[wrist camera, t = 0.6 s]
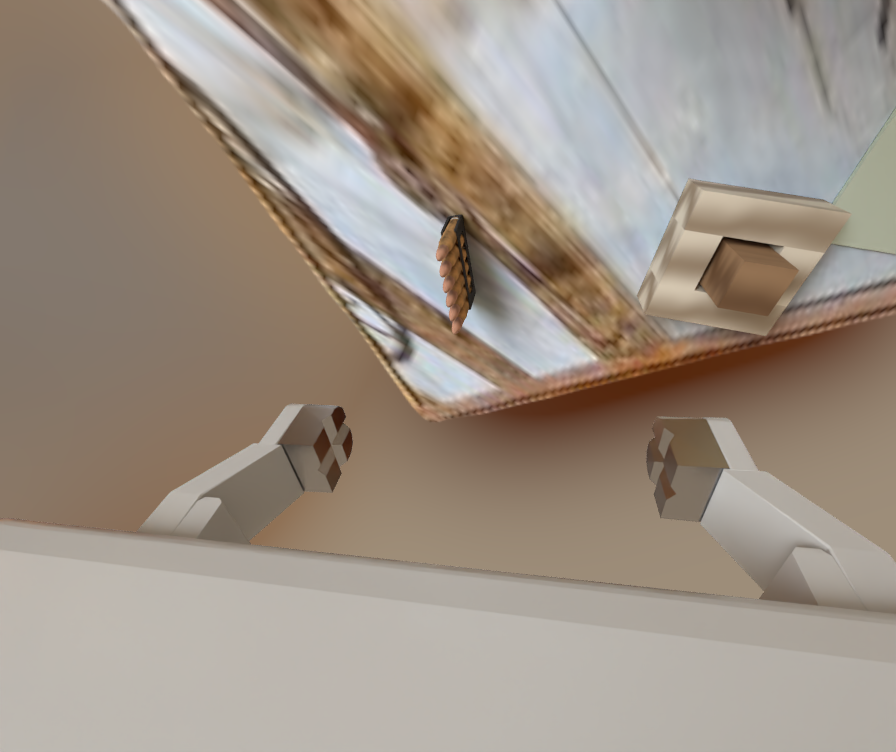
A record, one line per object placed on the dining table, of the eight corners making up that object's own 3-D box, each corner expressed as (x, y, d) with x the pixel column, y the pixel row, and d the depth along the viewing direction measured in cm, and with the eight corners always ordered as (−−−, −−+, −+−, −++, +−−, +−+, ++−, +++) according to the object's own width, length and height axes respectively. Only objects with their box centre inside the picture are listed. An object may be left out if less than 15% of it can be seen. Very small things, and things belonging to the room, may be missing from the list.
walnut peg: (709, 227, 47) (744, 261, 39) (755, 234, 47) (799, 270, 39) (689, 268, 50) (717, 307, 42) (731, 275, 50) (767, 316, 42)
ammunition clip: (475, 293, 57) (463, 340, 47) (462, 295, 57) (448, 341, 48) (462, 214, 51) (445, 249, 41) (447, 216, 51) (427, 252, 42)
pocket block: (688, 178, 44) (703, 190, 41) (823, 199, 44) (851, 213, 40) (637, 295, 53) (645, 314, 49) (748, 315, 52) (765, 335, 48)
